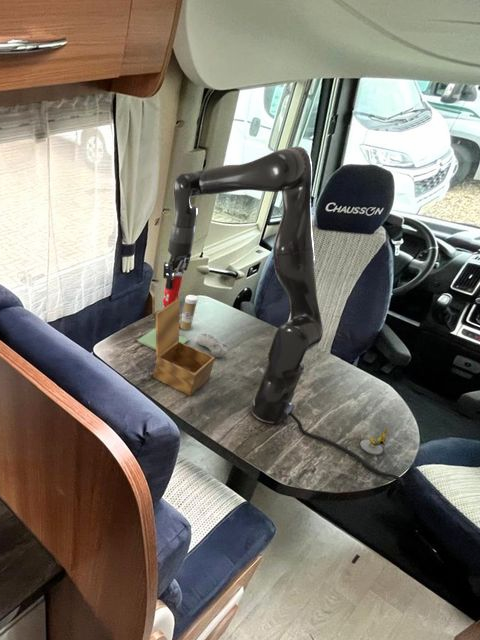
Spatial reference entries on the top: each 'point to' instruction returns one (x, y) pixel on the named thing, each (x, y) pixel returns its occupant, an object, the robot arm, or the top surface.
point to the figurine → (374, 444)
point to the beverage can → (173, 290)
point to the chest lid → (167, 326)
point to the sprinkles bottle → (188, 312)
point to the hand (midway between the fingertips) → (173, 285)
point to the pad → (151, 339)
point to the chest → (183, 367)
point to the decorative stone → (212, 344)
